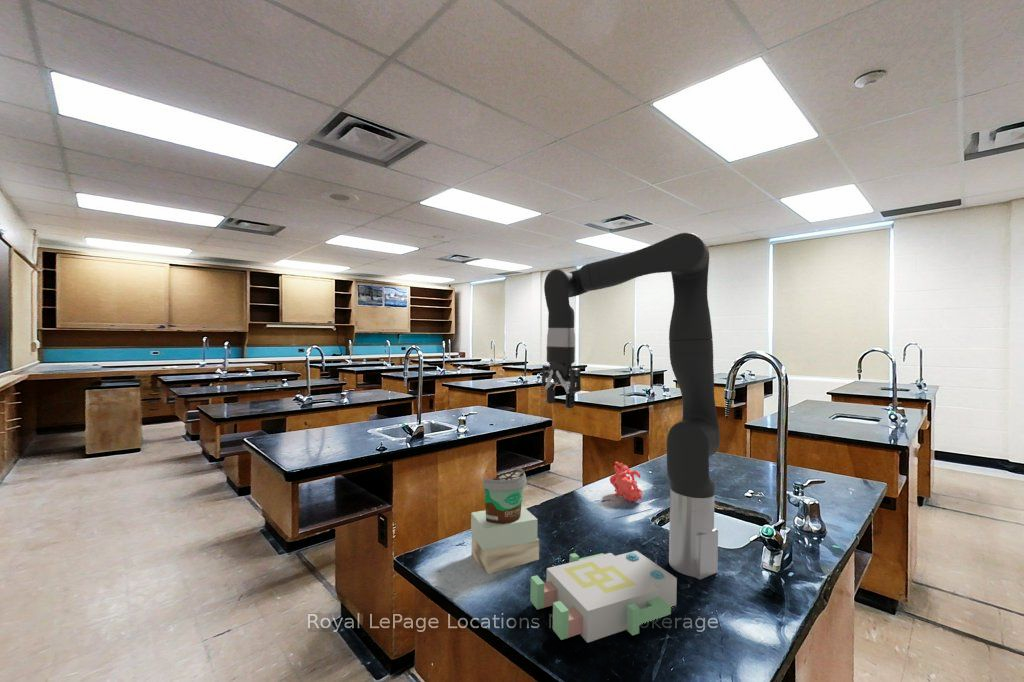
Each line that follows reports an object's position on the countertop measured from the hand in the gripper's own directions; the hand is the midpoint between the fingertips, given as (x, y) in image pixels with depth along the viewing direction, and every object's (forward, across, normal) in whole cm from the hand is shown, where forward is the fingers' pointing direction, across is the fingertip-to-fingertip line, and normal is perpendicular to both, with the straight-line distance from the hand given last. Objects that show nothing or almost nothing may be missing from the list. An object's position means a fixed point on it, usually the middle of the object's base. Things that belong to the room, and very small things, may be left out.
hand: (559, 405), depth 114 cm
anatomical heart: (+33, +7, -32) cm, 47 cm away
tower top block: (+28, -6, +20) cm, 35 cm away
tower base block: (+34, -6, +20) cm, 40 cm away
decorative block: (+34, -31, +12) cm, 47 cm away
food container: (+24, -8, +20) cm, 32 cm away
